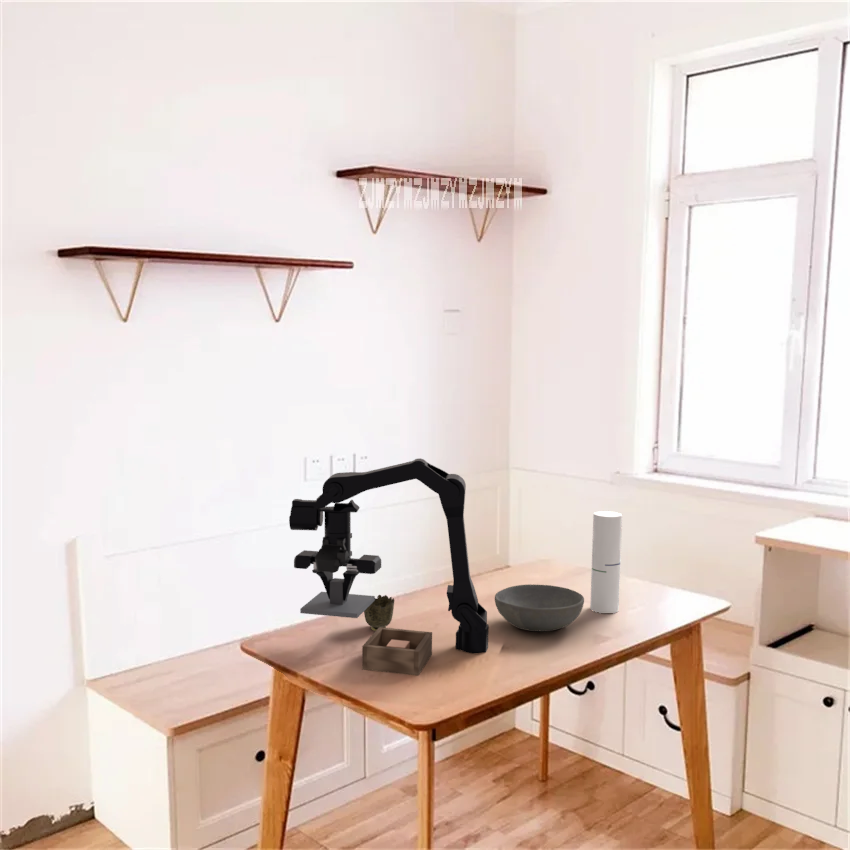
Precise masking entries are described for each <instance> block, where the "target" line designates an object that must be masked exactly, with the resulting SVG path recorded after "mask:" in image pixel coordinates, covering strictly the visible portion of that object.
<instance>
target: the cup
mask: <svg viewBox="0 0 850 850" xmlns="http://www.w3.org/2000/svg"><path fill="white" fill-rule="evenodd" d="M394 607H395V598H393V597H392V596H391V597H389V596H388V595H387V594H385V595H381V594H378V595H377V598H376V597H375V601H374V602H373V603H372V604H371V605H370V606H369V607H368V608H367V609H366V610H365V611H364V612H363V614H364V619H365V622H366V624H367V625H368V626H370V630H372V631H374V632H375V631H376V630H377V629H378V628H379V627H383V628H387V627H388V626H389V625H390V624H391V622H392V620H393V615H394Z"/></svg>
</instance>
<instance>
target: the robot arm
mask: <svg viewBox="0 0 850 850" xmlns="http://www.w3.org/2000/svg"><path fill="white" fill-rule="evenodd" d="M412 480H417V481H419V482H421V483H422V484H424V486H426V487H427V488H429V489H430V490H432V491H433V492H434V493H436V494H438V497H439V500H440V504H441V508H442V510H443V513H444V515H445V518H446V523H447V524H446V525H447V532H448V541H449V551H450V552H449V553H450V559H451V561H450V562H451V569H452V578H453V582H452V584H448V585H447V588H446V597H447V600H448V607H447V608H448V609H447V611H448V612H451V615H452V618H453V619H454V620H456V621H457V622H458V623H459V625H458V629H457V630H456V632H455V650H458V651H462V652H464V653H466V654H467V653H468V654H482V653H484V654H486V653H487V651H488V649H489V628H490V627H489V624H488V611H487V610H486V609H485V608H484V607H483V606H482V605H481V604H480V603H479V599H478V596H477V591H476V588H475V586H474V583H473V579H472V577H471V572H470V563H469V556H468V554H469V553H468V546H467V545H468V543H467V535H466V527H465V526H466V525H465V517H464V514H465V505H466V504H465V501H466V481H465V479H464V478H463V477H462V476H461V475H460V474H457V473H448V472H446V471H445V470H443V469H441V468H439V467H437V466H435V465H433V464H431V463H429V462H427V461H426V460H425V459H424V458H415V459H413V460H412V461H410V460H409V461H407V462H402V463H398V464H395V465H394V464H393V465H389V466H386V467H381V468H377V469H372V470H368V471H364V472H361V471H360V472H356V471H353V472H352V471H350V472H336V473H334V474H332V475H330V476H329V477H328V478H327V479H326V480H325V481H324V483H323V485H322V494H320V495H319V496H317V498H316V500H313V499H312V500H311V499H310V500H309V499H301V498H300V499H299V498H294V499H293V500H292V501H291V508H290V514H289V517H288V518H289V519H288V520H289V521H288V523H289V528H290V530H291V531H318V528H319V527H322V526H323V523H324V536H323V537H322V540H321V541H322V544H321V548H320V549H319V550H305V549H304V550H301V552H299V553H298V554H296V555H295V556H294V560H293V568H294V569H299V570H301V569H302V570H306V569H308V568H309V567H310V566H312V565H313V569H312V573H313V574H316V575H317V576H318V577H320V580H321V581H322V583H323V587H324V588H325V592H327V595H328V597H329V599H330V581H331V580H333V579H334V573H337V572H338V571H339V569H340V568H341V567H345V568H346V570H345V571H344V572H343V573H342V575H343V579H344V588H343V600H344V601H345V600H346V599H347V597H348V594H350V591H351V588H352V586H353V583H354V581H355V579H356V576H358V575H359V574H364V575H365V574H366V575H373V574H376V573H377V572H378V571H380V569H381V568H382V559H381V556H379V555H375V554H363V555H362V556H361V557H359V558H352V556H353V551H352V546H351V545H352V543H351V539H352V538H353V533H352V532H351V529H352V527H351V520H352V519H351V518H352V517H351V514H352V513H358V511H360V508H361V506H360V505H358V504H357V503H355V502H354V500H353V499H351V498H354V497H355V496H357V495H359V494H362V493H363V492H367V491H370V490H374V489H379V488H382V487H386V486H390V485H395V484H399V483H403V482H408V481H412ZM349 499H351V500H350V501H349V502H345V503H344V501H346V500H349ZM330 504H333V505H332V506H328V505H330Z"/></svg>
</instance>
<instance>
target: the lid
mask: <svg viewBox="0 0 850 850" xmlns="http://www.w3.org/2000/svg"><path fill="white" fill-rule="evenodd" d="M343 588H344V578H338V577H333V580H331V581H330V599H329V597H328V595H327V592H326V591H320V592H319V593H317V595H315V596H314V597H312V599H310V600H309V601H308V602H307V603H306V604H304V605H303V606H302V607H300V611H299V612H300V614H303V615H305V614H307V615H315V616H329V617H339V618H349V619H350V618H351V619H358V618H359V617H361V615H362V614H364V611H365V610H366V609H367V608H368V607H369V606H370V605H371V604H372V603H373V602H374V601H375V598H376V596H375V595H366V594H354V593H349V594H348V597H347V599H346V600H345V601H344V600H343Z"/></svg>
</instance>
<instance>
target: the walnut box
mask: <svg viewBox="0 0 850 850" xmlns="http://www.w3.org/2000/svg"><path fill="white" fill-rule="evenodd" d="M391 640H402V641H410V649H404V648H394V647H386V646H387V645H388V643H389V642H390V641H391ZM361 647H362V649H361V650H362V651H361V653H362V655H361V656H362V657H361V658H362V659H361V666H362V669H361V670H363V671H372V672H381V673H388V674H389V673H391V674H399V675H409V676H416V677H417V676H418V677H419V676H420V675H421V672H422V671H423V669H424V668H425V666H426V665H427V663H428V662H429V660H430V658H431V657H432V655H433V632H432V631H424V630H412V629H403V628H401V629H400V628H390V627H386V628H383V627H379V628H378V629H377V630H376V631H374V632H373V633H372V634H371V636H370V637H369V638H368V639H367V640H366V641H365V642H364V644H363V645H362V646H361Z"/></svg>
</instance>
